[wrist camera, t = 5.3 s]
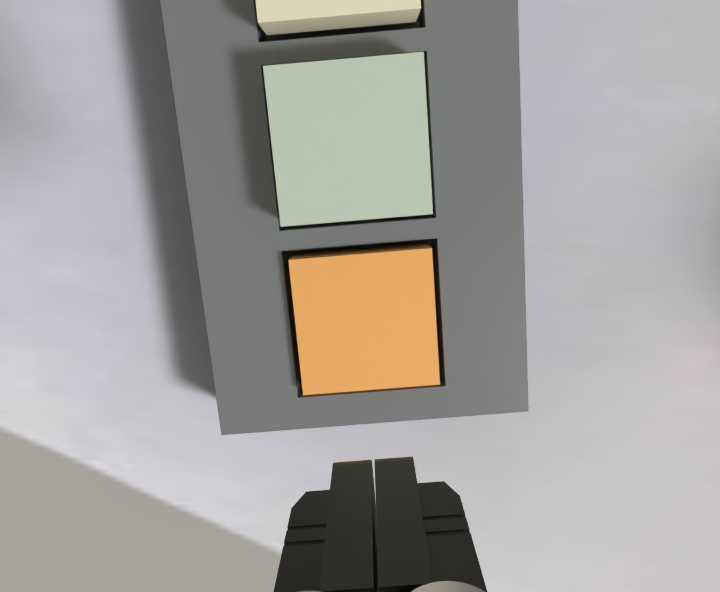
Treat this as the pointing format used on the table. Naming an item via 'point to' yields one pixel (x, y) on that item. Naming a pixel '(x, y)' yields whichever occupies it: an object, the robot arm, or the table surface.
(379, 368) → the orange key
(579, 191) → the table surface
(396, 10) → the beige key
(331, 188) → the sage key
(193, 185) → the keypad
